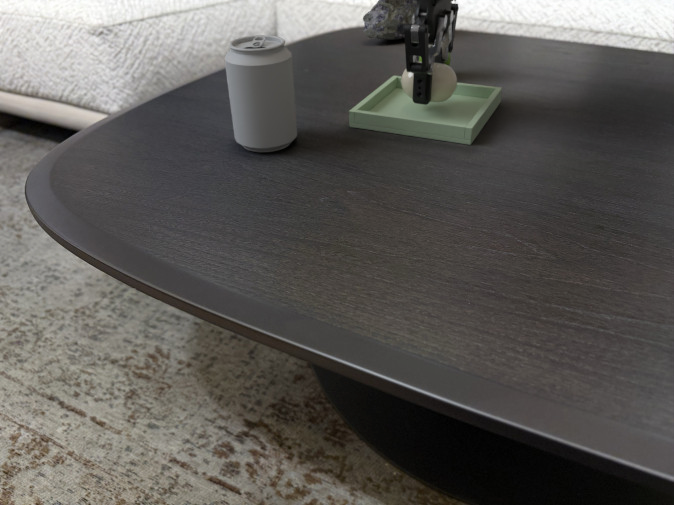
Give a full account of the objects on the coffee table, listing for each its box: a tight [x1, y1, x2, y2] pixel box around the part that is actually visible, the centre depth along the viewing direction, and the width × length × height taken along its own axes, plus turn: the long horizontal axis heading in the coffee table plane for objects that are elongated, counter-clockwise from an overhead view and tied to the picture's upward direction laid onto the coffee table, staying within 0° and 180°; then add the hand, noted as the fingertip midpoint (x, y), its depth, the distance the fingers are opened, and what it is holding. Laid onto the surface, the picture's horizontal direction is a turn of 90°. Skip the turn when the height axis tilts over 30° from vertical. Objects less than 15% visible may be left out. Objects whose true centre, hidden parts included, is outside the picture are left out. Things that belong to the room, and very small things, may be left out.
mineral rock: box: [362, 0, 417, 41], centre depth 110 cm, size 13×11×10 cm
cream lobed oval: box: [401, 61, 458, 102], centre depth 77 cm, size 7×5×5 cm, turn 65°
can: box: [224, 34, 298, 153], centre depth 69 cm, size 8×8×12 cm
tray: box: [348, 74, 503, 146], centre depth 78 cm, size 16×16×2 cm
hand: (428, 95), depth 78 cm, fingers closed on cream lobed oval, 4 cm apart
